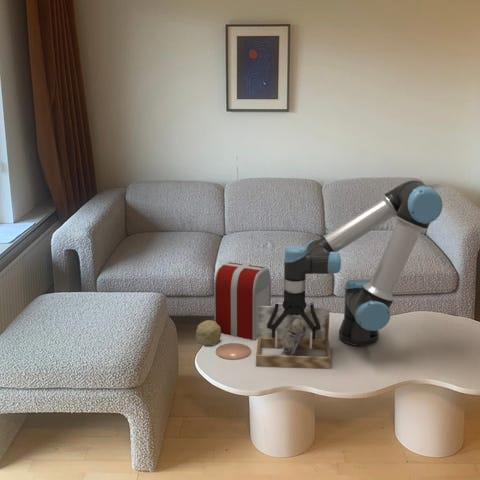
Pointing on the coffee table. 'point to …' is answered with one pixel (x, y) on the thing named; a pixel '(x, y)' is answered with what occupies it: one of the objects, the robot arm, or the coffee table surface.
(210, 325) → the decorative object
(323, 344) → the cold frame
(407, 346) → the coffee table surface
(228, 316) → the red striped box
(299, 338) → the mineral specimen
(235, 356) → the peach round smooth part
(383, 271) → the robot arm
